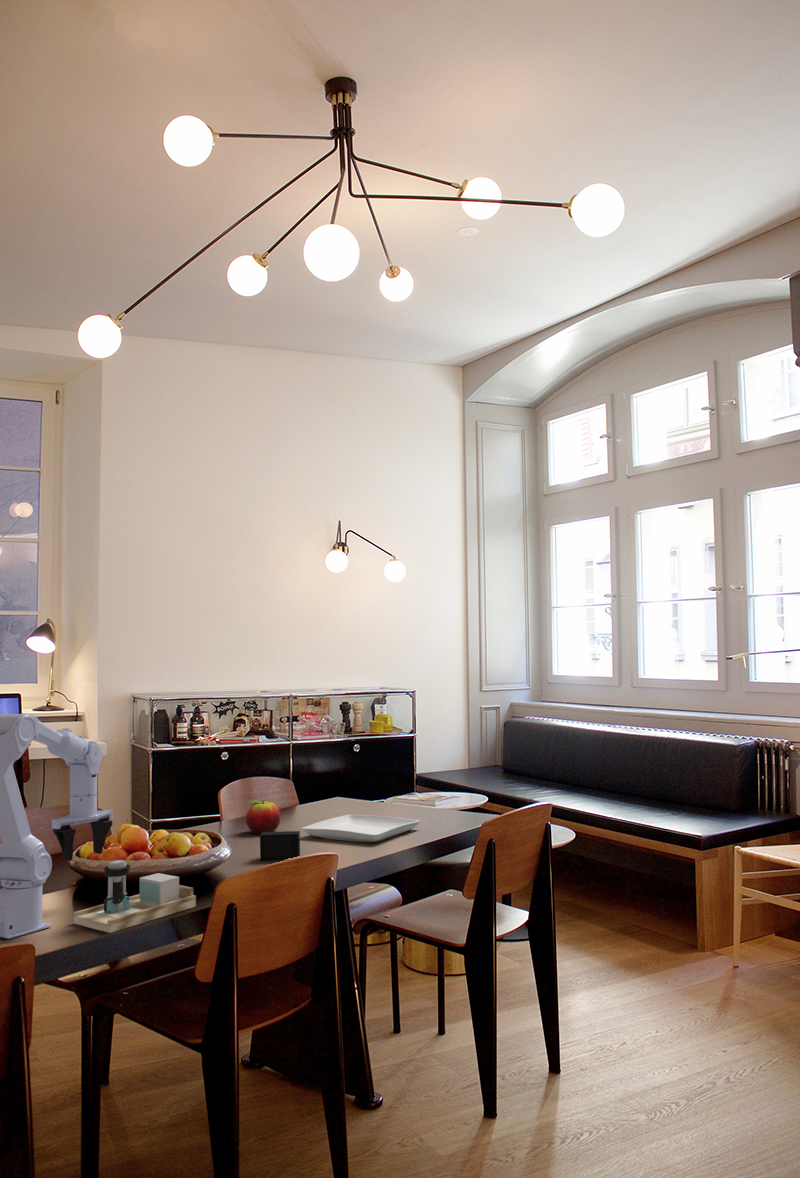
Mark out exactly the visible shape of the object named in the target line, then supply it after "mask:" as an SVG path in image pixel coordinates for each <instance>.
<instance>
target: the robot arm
mask: <svg viewBox="0 0 800 1178" xmlns="http://www.w3.org/2000/svg"><path fill="white" fill-rule="evenodd" d="M72 731H73V730H72V729H71V728H66V727H65V728H61V729H60V728H59V729H57V730H56V729H53V728H52V727H50V726H48V725H47V724H45V723H44V722H42V721H40V720H39V719H38V716H36V715H32V714H30V713H27V712H25V713H0V839H1V844H0V887H1V886H2V888H0V937H1V938H4V939H13V938H16V937H20V936H24V935H27V934H30V933H34V932H37V931H41V930H43V929H48V928H51V927H52V924H51V923H48V922H44V921H43V884H44V883H46V880H47V879H48V878H49V876H50V874H51V872H52V867H53V862H52V856H51V855H50V853H48V851H47V850H46V848H45V844H44V843H43V842H42V841H41V840H40V839H38V838H37V837H36V836H34V835H33V834H32V832H31V828H30V825H29V821H28V817H27V814H26V810H25V807H24V803H23V800H22V795H21V792H20V788H19V785H18V780H17V777H16V773H15V770H14V763H15V762H16V761H17V760H19V759H20V758H21V757H22V756H23V754H24V753H25V752H26V750H27V748H28V747H29V746H30V745H31V743H32V741H35V742H36V743H40V744H42V745H45V746H46V748H47V750H48V752H49V753H50V754H51V755H53V756H55V757H58V758H60V759H62V760H64V763H65V765H66V766H67V767H69V768H70V771H69V772H70V773H69V775H70V776H69V784H70V785H69V814H68V815H64V816H62V817H58V818H57V817H56V818H52V819H51V829H52V832H53V834H54V835H55V837H56V839H57V841H58V843H59V846H60V848H61V852H62V856H63V860H64V861H72V860H73V856H74V855H73V854H74V849H73V848H74V840H75V835H76V833H77V832H76V831H77V829H75V828H72V827H73V826H79V825H83V824H87V823H90V827H91V831H92V838H93V839H92V841H93V842H92V848H93V849H92V850H93V854H98V855H102V853H103V851H104V845H105V842H106V839H107V836H108V834H109V831H110V830H111V828H112V826H113V819H114V810H113V809H102V810H98V774H99V772H100V766H101V763H102V761H103V756H104V752H103V750H102V749H103V748H102V746H101V745H100V744H99V743H98V742H97V741H96V740H95V741H93V740H86V739H85V737H84V736H83V735H77V734H74V733H73V732H72Z"/></svg>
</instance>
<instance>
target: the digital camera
mask: <svg viewBox="0 0 800 1178" xmlns="http://www.w3.org/2000/svg"><path fill="white" fill-rule="evenodd" d="M300 831H301V830H297V831H296V830H294V831H293V830H292V831H290V830H288V831H287V830H285V831H273V832H262V833H261V834H259V851H260V852H259V853H260V854H259V855H260V856H259V857H260V858H259V859H260V862H276V861H277V862H279V861H281V860H283V861H286V860H285V859H288V858H293V857H297V856H300V857H301V834H300V833H301V832H300Z"/></svg>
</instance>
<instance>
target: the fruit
mask: <svg viewBox="0 0 800 1178" xmlns="http://www.w3.org/2000/svg"><path fill="white" fill-rule="evenodd" d="M245 803H246V804H250V803H252V804H251V805H250V807H249V808H248V810H247V811H246V816H245V822H246V825H247V827H248V829H249V831H251V832H252V833H254V834H256V835H257V834H258V835H261V833H262V832H276V830H277V828H278V827H279V825H280V822H281V813H280V809H279V808H278V806H277V805H276V804H275V803H274V802H270V801H267V800H266V801H264V799H261V801H259V800H255V799H253V800H251V799H250V800H249V801H246V802H245Z"/></svg>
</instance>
